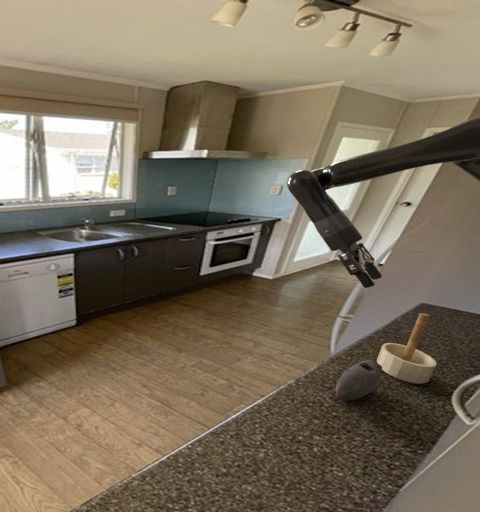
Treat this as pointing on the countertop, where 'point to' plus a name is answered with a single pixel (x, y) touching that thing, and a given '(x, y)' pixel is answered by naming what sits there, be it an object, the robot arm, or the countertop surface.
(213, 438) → the countertop surface
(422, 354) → the bowl
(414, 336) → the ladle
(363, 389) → the perforated stone tool
